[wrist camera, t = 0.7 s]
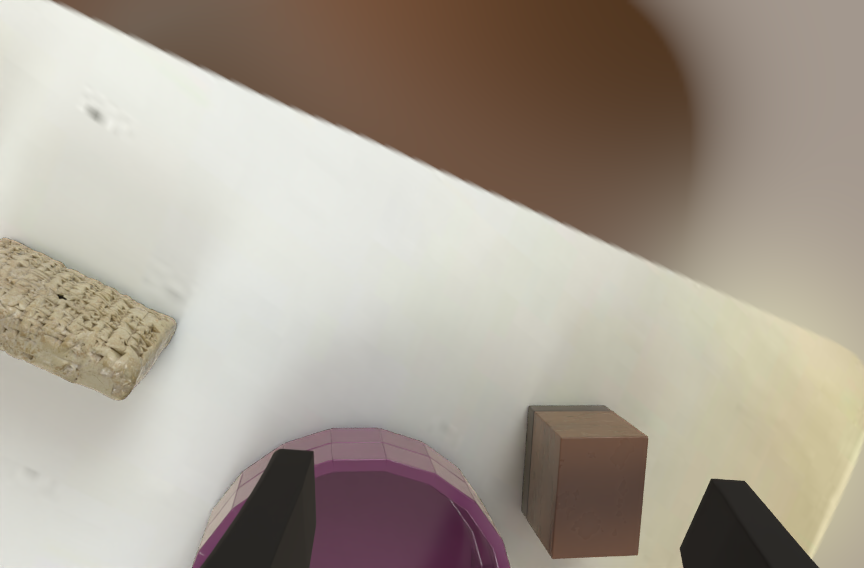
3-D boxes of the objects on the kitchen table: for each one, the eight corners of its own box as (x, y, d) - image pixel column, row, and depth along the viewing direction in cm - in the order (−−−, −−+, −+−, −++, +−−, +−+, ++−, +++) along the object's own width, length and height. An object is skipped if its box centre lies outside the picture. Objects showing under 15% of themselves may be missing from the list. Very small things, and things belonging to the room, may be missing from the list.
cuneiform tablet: (-43, 157, 30) (206, 280, 32) (-76, 242, 31) (168, 356, 33) (-172, 179, 23) (156, 333, 25) (-208, 287, 24) (110, 427, 26)
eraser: (596, 509, 37) (638, 555, 32) (521, 511, 37) (552, 559, 32) (605, 405, 37) (648, 436, 32) (528, 405, 36) (560, 437, 31)
